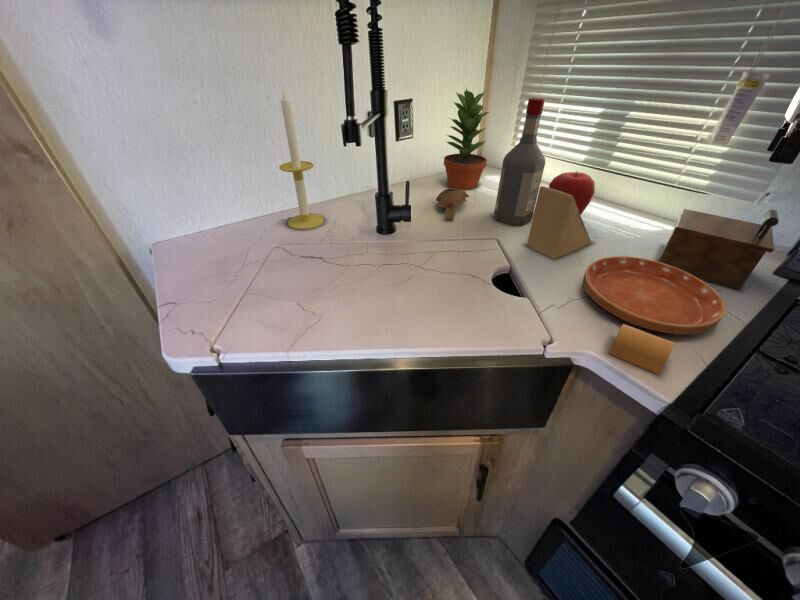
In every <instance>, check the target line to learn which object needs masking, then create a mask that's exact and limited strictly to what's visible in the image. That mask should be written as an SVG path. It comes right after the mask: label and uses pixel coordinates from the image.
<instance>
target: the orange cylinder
mask: <svg viewBox="0 0 800 600" xmlns="http://www.w3.org/2000/svg"><path fill="white" fill-rule="evenodd" d="M674 347H675V342H673V341H670V340H668V339H665V338H663V337H660V336H657V335H654V334H651V333H649V332H647V331H644V330H641V329H638V328H636V327H634V326H630V325H627V324H625V323H623V324H622V325H621V327H620V329H619V331H618V333H617V335H616V337H615V338H614V341H613V343H612V345H611V347H610V350H609V352H608V354H609V355H612V356H614V357H616V358H619V359H620V360H623V361H626V362H627V363H631V364H633V365H635V366H637V367H640V368H642V369H645V370H647V371H649V372H651V373H654V374H656V375H659V374H660V373H661V371H662V369H663V367H664V366H665V365H666V363H667V362H668V359H669V358H670V356H671V354H672V352H673V350H674Z"/></svg>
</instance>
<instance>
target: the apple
mask: <svg viewBox="0 0 800 600" xmlns="http://www.w3.org/2000/svg"><path fill="white" fill-rule="evenodd" d="M595 185H596V184H595V180H594V179H593V178H592V177H591V175H589V174H588V173H585V172H580V171H578V170H576V171H568V172H562V173H559V174H558V175H557V176H555V177H553V179H552V180H551V181H550V182H549V184H548V188H551V189H555V190H558V191H561V192H564V193H566V194H569V195H572V196H573V197H574V200H575V203H576V206H577V208H578V211H579V214H580V216H581V215H582V214H583V213H584V211H585V210H586V209H587V208H588V206H589V205H590V203H591V201H592V199H593V196H594V194H595V193H596V191H595V190H596V186H595Z"/></svg>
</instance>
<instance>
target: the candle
mask: <svg viewBox="0 0 800 600" xmlns="http://www.w3.org/2000/svg"><path fill="white" fill-rule="evenodd" d="M280 103H281V104H280V105H281V111H282V116H283V117H282V118H283V121H284V122H283V123H284V129H285V134H286V138H287V139H286V140H287V144H288V150H289V155H290V161H288V162H285V163H282V164H280V165H279V166H278V167H279V170H281V171H282V172H285V173H292V177H293V182H294V188H295V193H296V198H297V204H298V210H299V215H295V216H293V217H291V218H290V219H289V220H288V221H287V226H288V227H289V228H292V229H295V230H311V229H315V228H318V227H320V226H322V225H323V224H324V223H325V219H324V217H322V215H319V214H314V213H310V209H309V203H308V196H307V190H306V185H305V179H304V178H305V177H304V172H306V171H309V170H311V169H313V168H314V163H313V162H311V161H306V160H301V158H300V152H299V147H298V146H299V145H298V141H297V134H296V128H295V122H294V117H293V112H292V111H293V110H292V103H291V100H290V98H289V97H288V96H287V93H286V90H285V88H284V87H282V96H281V99H280Z"/></svg>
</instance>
